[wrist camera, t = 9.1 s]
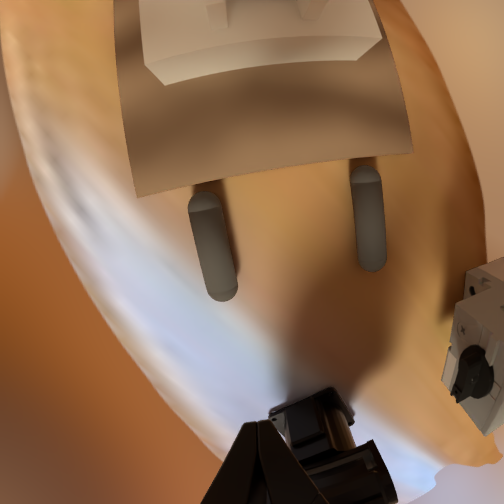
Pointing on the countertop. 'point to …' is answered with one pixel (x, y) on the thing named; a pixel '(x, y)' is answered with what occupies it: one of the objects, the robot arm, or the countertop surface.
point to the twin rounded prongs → (218, 249)
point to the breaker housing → (250, 34)
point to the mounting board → (254, 113)
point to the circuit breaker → (479, 347)
